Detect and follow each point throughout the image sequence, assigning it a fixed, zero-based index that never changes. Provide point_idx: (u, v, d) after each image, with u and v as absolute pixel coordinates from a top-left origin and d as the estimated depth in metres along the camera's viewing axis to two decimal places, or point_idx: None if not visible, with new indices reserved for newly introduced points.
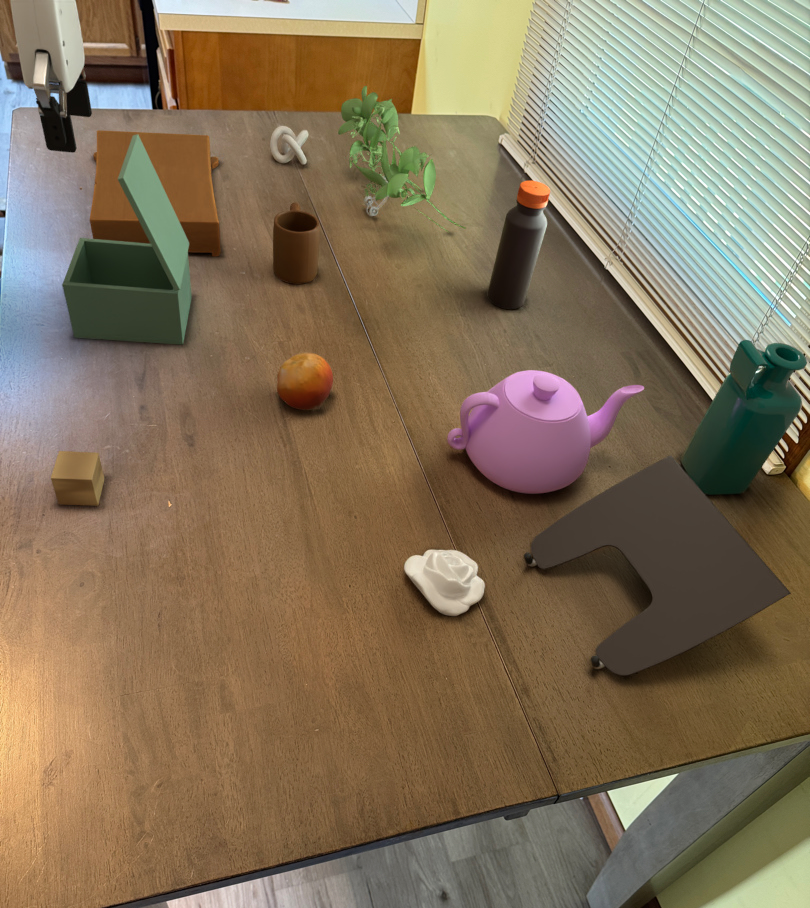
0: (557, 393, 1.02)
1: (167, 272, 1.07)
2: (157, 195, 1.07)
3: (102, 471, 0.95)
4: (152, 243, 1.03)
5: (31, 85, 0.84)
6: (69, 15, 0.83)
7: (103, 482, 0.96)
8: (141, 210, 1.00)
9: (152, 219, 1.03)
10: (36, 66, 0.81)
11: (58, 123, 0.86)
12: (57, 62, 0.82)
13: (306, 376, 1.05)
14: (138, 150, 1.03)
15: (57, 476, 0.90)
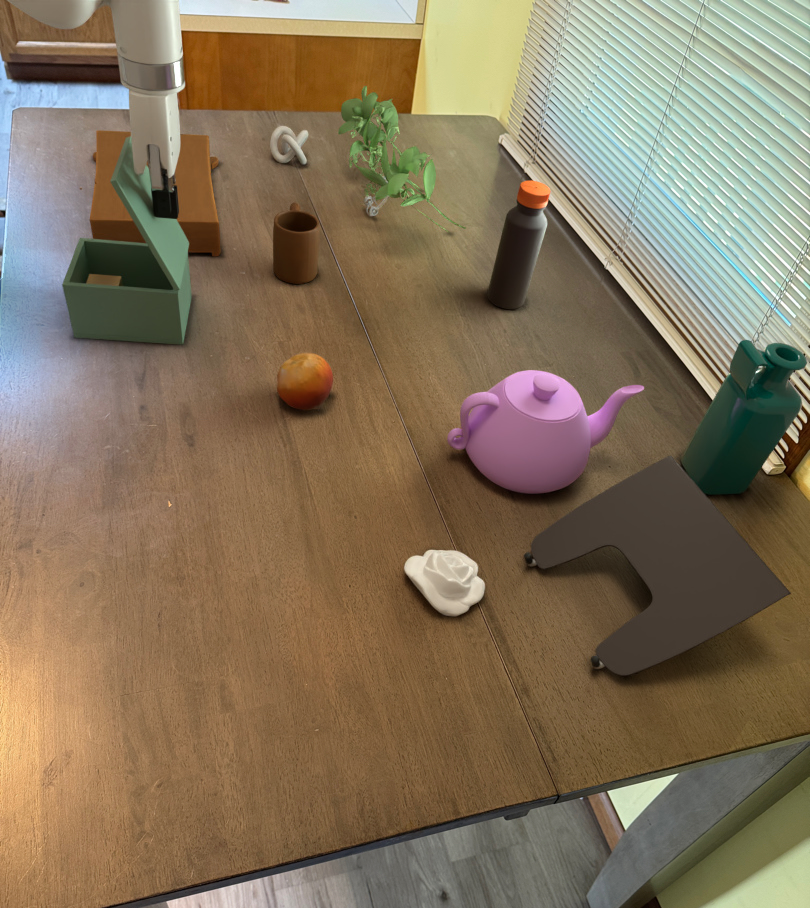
0: (557, 393, 1.02)
1: (166, 273, 1.07)
2: None
3: None
4: (149, 244, 1.03)
5: (140, 172, 0.97)
6: (175, 114, 0.96)
7: None
8: (136, 212, 1.00)
9: (148, 220, 1.03)
10: (152, 169, 0.97)
11: (166, 196, 1.03)
12: (164, 154, 0.96)
13: (306, 376, 1.05)
14: (131, 152, 1.03)
15: None
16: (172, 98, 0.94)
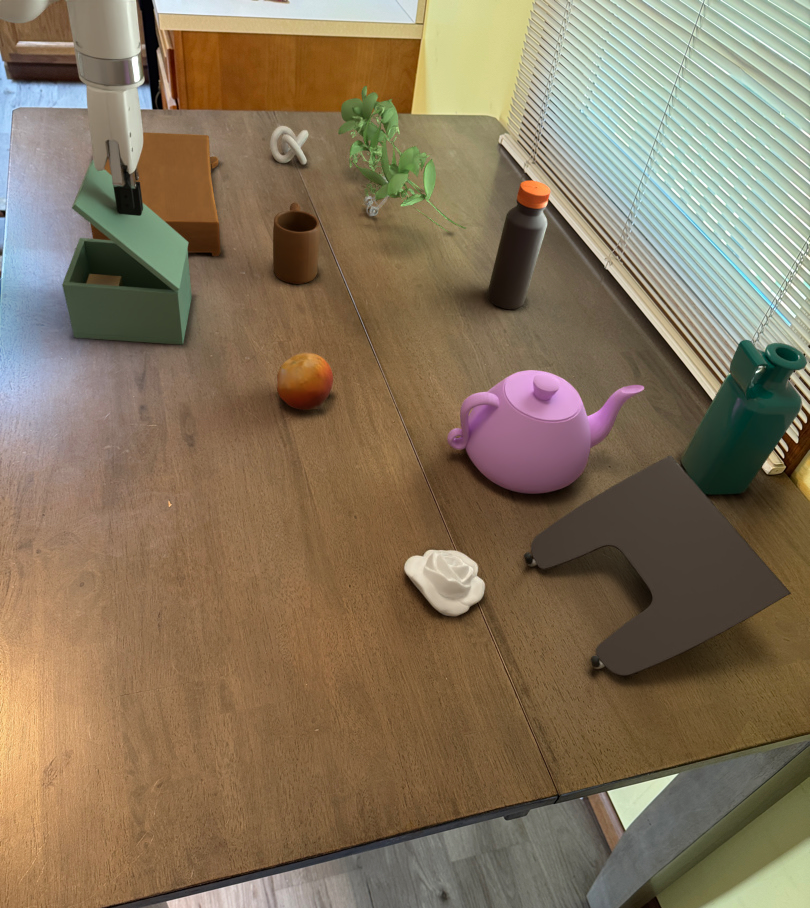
0: (557, 393, 1.02)
1: (160, 277, 1.07)
2: None
3: None
4: (132, 255, 1.04)
5: (100, 168, 0.97)
6: (135, 109, 0.95)
7: None
8: (107, 228, 1.01)
9: (126, 232, 1.04)
10: (112, 165, 0.96)
11: (129, 193, 1.03)
12: (124, 150, 0.95)
13: (306, 376, 1.05)
14: (95, 174, 1.05)
15: None
16: (131, 93, 0.93)
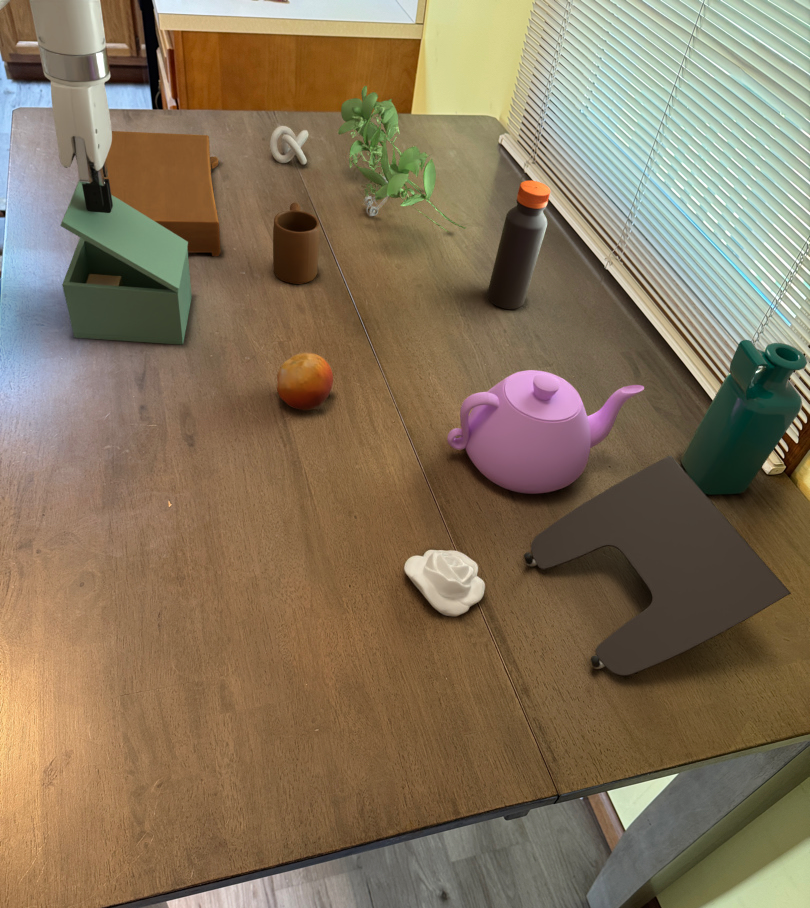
0: (557, 393, 1.02)
1: (157, 280, 1.07)
2: (123, 217, 1.09)
3: None
4: (126, 262, 1.05)
5: (67, 165, 0.96)
6: (101, 105, 0.95)
7: None
8: (97, 239, 1.03)
9: (118, 241, 1.05)
10: (78, 161, 0.96)
11: (97, 190, 1.02)
12: (90, 147, 0.94)
13: (306, 376, 1.05)
14: None
15: None
16: (96, 90, 0.92)
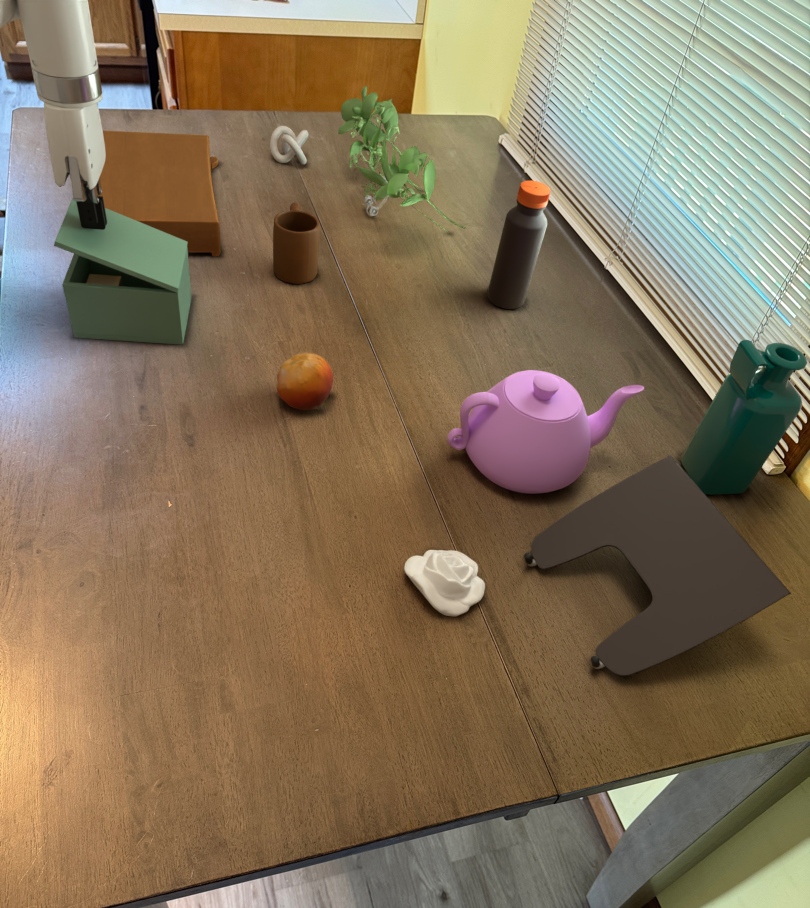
0: (557, 393, 1.02)
1: (156, 283, 1.08)
2: (118, 228, 1.10)
3: None
4: (123, 270, 1.06)
5: (61, 184, 0.98)
6: (94, 126, 0.96)
7: None
8: (91, 253, 1.04)
9: (113, 251, 1.06)
10: (72, 180, 0.97)
11: (91, 207, 1.04)
12: (83, 166, 0.96)
13: (306, 376, 1.05)
14: None
15: None
16: (89, 110, 0.94)
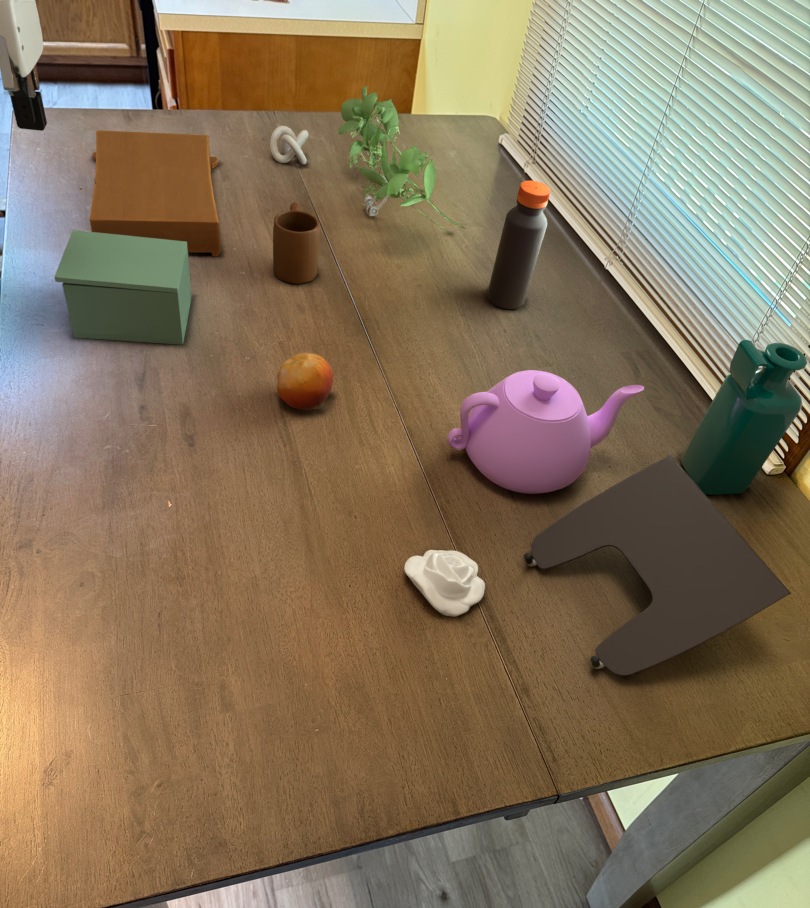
0: (557, 393, 1.02)
1: (156, 289, 1.08)
2: (116, 248, 1.12)
3: None
4: (122, 286, 1.08)
5: None
6: (25, 2, 0.86)
7: None
8: (90, 278, 1.07)
9: (111, 271, 1.09)
10: (1, 65, 0.87)
11: (27, 103, 0.93)
12: (13, 47, 0.86)
13: (306, 376, 1.05)
14: (75, 240, 1.12)
15: None
16: None
